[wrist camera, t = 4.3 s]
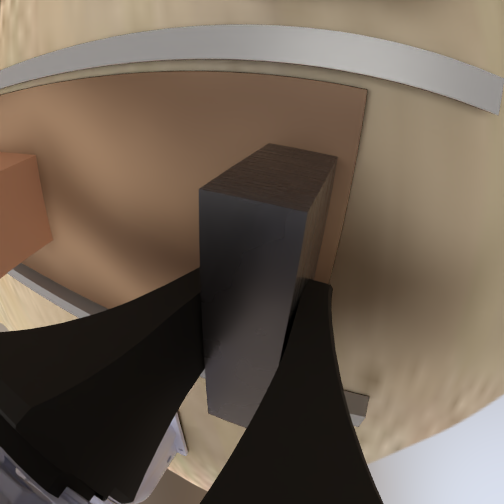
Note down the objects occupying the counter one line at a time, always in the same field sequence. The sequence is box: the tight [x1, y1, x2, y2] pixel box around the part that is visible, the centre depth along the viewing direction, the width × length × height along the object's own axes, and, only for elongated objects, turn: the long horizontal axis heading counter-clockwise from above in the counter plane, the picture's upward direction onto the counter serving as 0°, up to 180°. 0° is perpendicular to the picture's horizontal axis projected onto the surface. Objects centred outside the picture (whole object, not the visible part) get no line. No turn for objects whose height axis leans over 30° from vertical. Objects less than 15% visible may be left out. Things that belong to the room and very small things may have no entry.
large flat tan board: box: [0, 71, 367, 428], centre depth 12 cm, size 12×24×4 cm, turn 86°
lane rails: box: [0, 25, 504, 427], centre depth 14 cm, size 15×36×1 cm, turn 86°
